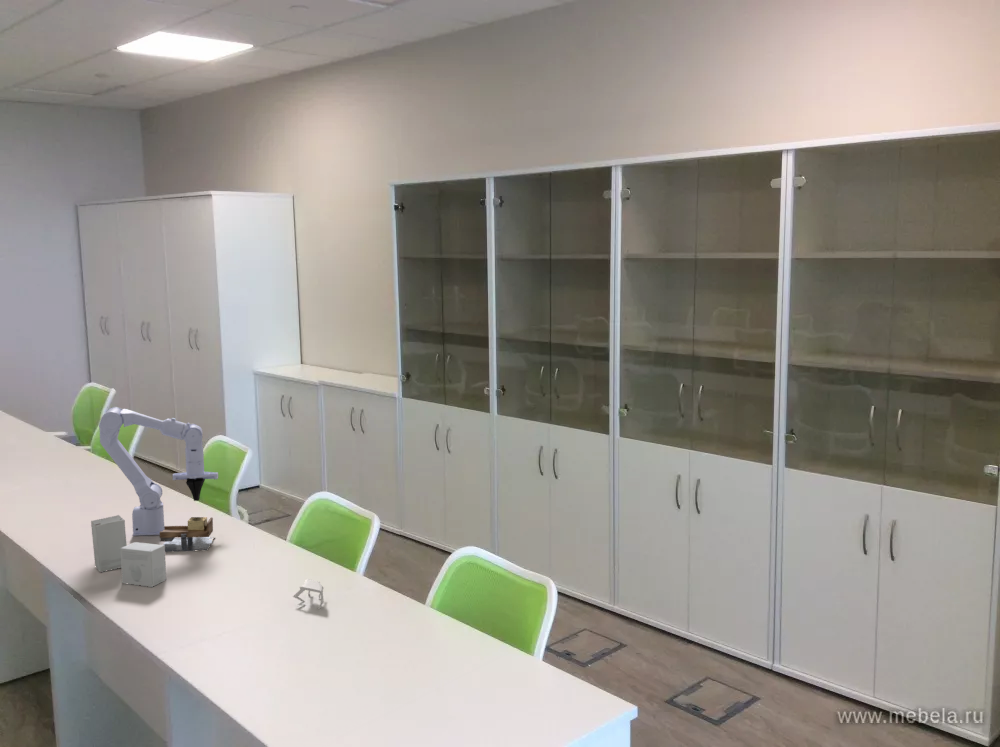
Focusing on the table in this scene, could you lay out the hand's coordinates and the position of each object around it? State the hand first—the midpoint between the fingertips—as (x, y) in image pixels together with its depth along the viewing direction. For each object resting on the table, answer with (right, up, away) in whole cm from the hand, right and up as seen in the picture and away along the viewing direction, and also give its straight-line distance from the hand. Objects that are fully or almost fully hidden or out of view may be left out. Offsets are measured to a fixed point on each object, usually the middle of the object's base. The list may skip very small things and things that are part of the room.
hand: (196, 499), depth 285 cm
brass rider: (+6, -8, -15) cm, 18 cm away
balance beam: (+2, -10, -15) cm, 18 cm away
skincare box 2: (+1, -17, -45) cm, 48 cm away
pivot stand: (+2, -12, -15) cm, 19 cm away
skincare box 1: (-13, -15, -34) cm, 40 cm away
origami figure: (+53, -19, -59) cm, 81 cm away
